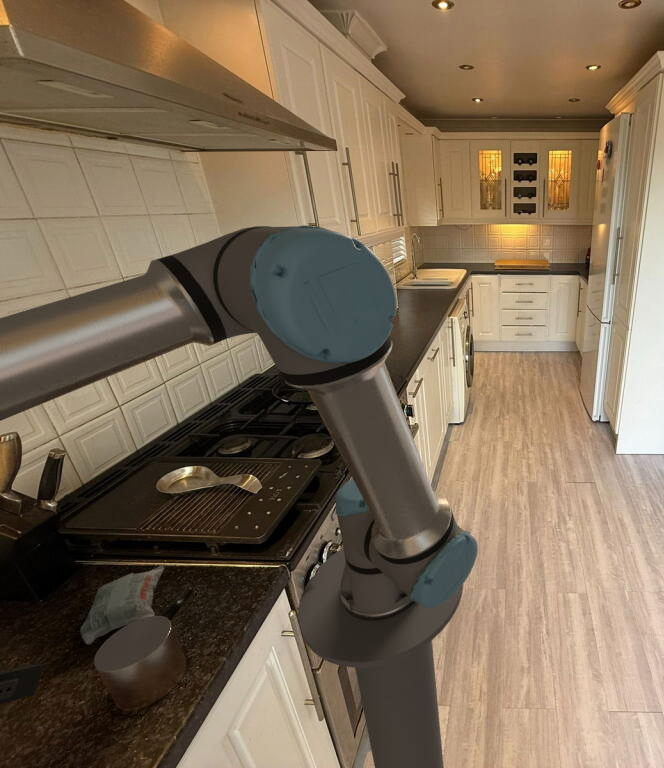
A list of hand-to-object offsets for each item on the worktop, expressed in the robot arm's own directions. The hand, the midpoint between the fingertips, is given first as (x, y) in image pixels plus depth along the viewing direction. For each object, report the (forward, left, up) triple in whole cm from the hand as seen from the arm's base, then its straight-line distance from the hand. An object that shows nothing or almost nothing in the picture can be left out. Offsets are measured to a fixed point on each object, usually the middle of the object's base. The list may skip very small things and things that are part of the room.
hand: (32, 679), depth 44 cm
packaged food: (+12, -22, -16) cm, 30 cm away
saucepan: (0, -14, -16) cm, 21 cm away
